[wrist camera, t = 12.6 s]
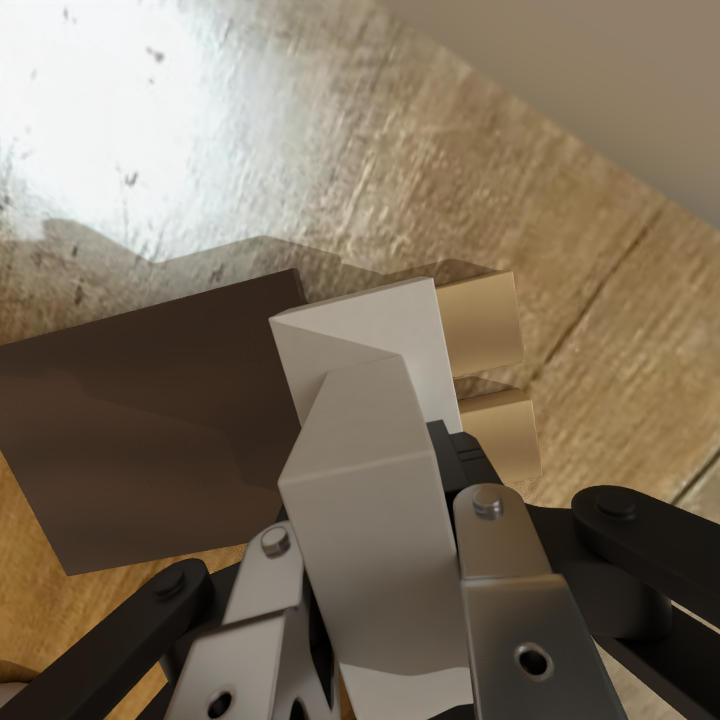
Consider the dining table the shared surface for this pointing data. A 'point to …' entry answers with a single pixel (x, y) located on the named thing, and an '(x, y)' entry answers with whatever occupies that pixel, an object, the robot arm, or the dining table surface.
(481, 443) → the tan square slab
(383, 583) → the white stepped wedge block
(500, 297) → the tan flat square block
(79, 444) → the board
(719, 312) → the dining table surface
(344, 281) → the dining table surface
